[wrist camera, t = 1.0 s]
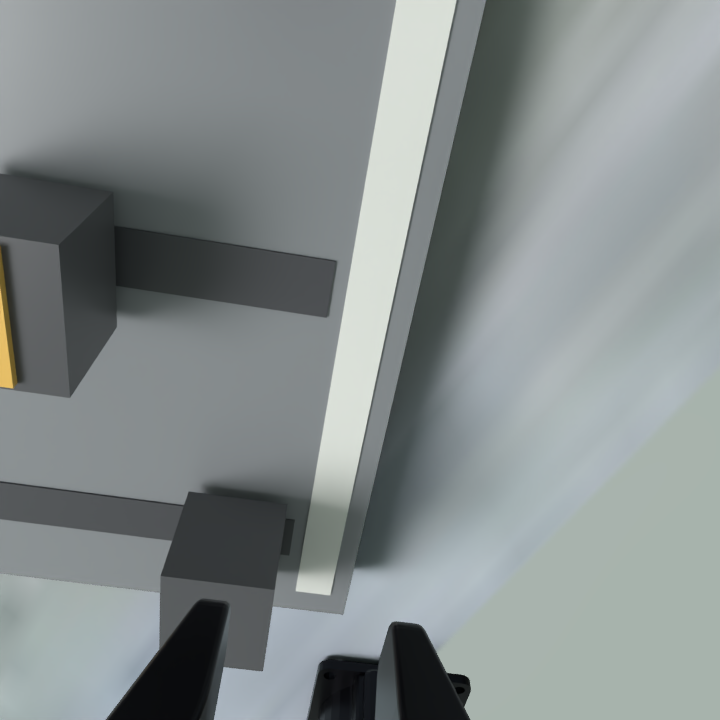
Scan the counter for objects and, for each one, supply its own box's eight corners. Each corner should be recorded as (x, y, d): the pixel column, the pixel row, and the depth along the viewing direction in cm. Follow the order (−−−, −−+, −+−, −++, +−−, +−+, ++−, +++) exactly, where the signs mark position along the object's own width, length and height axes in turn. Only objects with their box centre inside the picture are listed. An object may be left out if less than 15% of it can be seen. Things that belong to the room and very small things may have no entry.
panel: (344, 570, 26) (338, 713, 21) (-151, 507, 24) (-278, 646, 20) (547, -339, 13) (654, -508, 8) (-495, -577, 11) (-1125, -953, 7)
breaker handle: (116, 327, 17) (66, 403, 15) (-2, 309, 17) (-78, 383, 14) (113, 191, 16) (54, 249, 13) (-21, 170, 15) (-112, 223, 12)
